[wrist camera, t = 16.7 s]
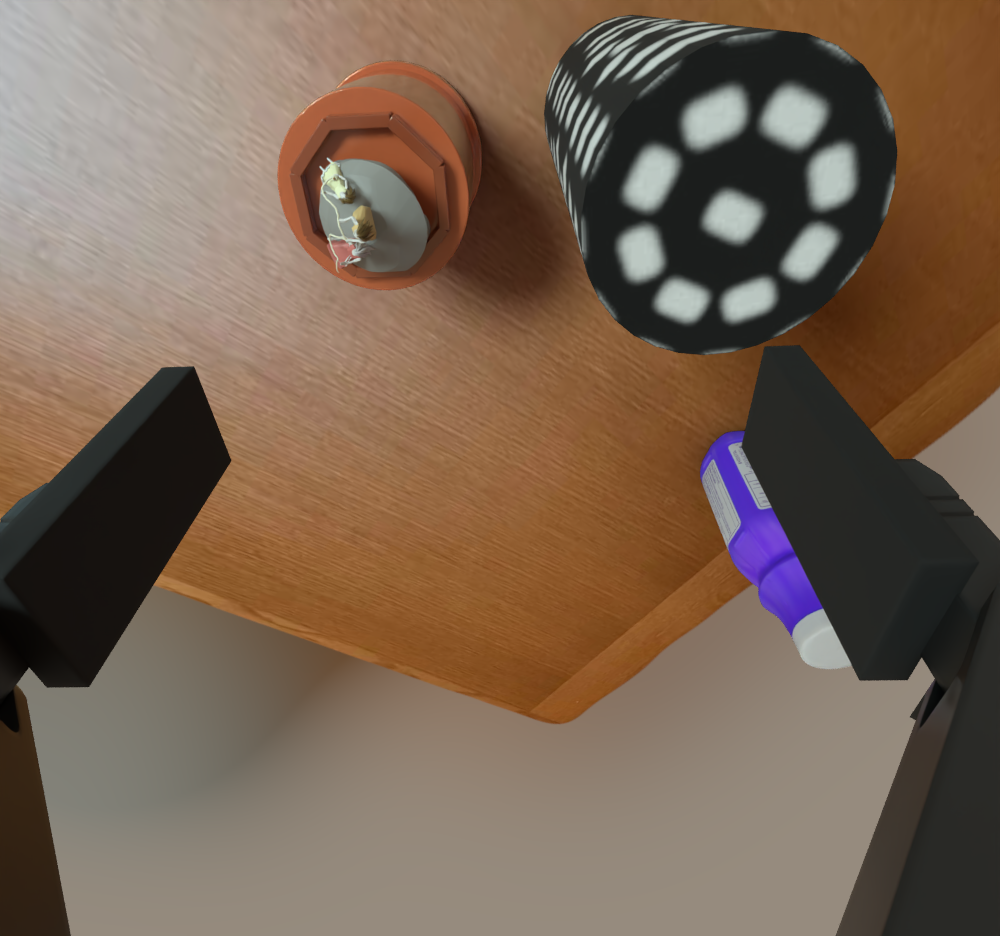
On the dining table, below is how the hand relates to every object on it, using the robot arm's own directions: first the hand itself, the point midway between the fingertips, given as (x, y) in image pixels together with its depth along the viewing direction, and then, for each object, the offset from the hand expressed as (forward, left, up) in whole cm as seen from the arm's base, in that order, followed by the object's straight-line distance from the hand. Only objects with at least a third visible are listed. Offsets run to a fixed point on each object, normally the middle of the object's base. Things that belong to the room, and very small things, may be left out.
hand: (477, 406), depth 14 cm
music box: (+5, -1, -25) cm, 26 cm away
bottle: (-18, +21, -25) cm, 37 cm away
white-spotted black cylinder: (-7, -3, -25) cm, 26 cm away
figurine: (+5, -1, -16) cm, 17 cm away
